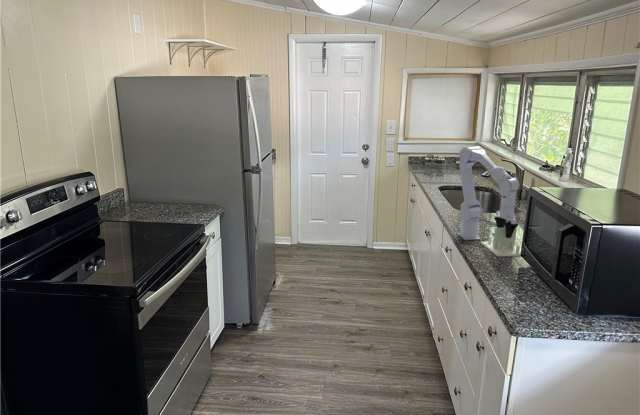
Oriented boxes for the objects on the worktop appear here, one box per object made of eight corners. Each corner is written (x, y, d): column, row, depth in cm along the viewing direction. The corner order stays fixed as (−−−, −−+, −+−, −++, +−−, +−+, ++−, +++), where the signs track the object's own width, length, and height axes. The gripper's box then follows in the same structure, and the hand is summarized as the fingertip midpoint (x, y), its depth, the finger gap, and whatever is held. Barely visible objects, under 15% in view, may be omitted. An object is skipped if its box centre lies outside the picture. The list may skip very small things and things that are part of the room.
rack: (480, 243, 205) (481, 235, 204) (507, 242, 206) (508, 234, 205) (497, 256, 189) (498, 247, 188) (526, 255, 190) (527, 246, 189)
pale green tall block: (492, 246, 198) (494, 227, 196) (512, 246, 199) (514, 227, 196) (494, 248, 196) (496, 229, 194) (514, 247, 197) (516, 228, 195)
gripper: (491, 201, 199) (488, 230, 203) (506, 210, 185) (503, 240, 189) (506, 201, 200) (503, 230, 203) (522, 209, 186) (519, 240, 189)
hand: (504, 235), depth 196 cm, fingers open, 7 cm apart
